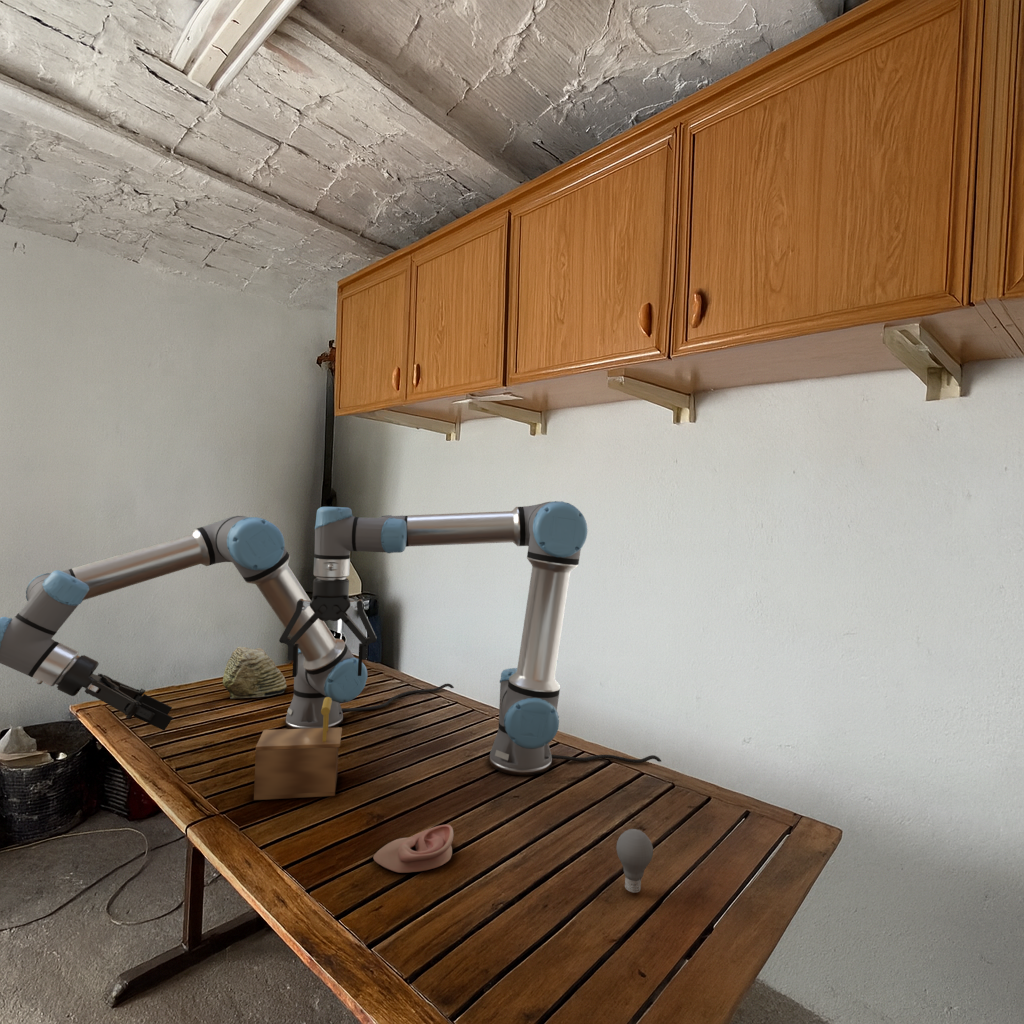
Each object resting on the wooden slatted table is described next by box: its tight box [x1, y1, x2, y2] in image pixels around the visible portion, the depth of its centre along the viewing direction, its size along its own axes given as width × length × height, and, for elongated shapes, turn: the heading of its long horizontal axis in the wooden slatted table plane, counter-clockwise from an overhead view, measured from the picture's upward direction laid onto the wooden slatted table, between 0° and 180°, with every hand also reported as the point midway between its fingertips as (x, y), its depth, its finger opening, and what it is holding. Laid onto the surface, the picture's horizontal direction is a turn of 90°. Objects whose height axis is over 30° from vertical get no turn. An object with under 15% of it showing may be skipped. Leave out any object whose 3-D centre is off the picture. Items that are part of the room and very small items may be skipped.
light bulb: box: [615, 828, 654, 894], centre depth 106 cm, size 6×6×10 cm
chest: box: [253, 747, 339, 801], centre depth 137 cm, size 16×10×10 cm, turn 102°
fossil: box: [222, 646, 288, 699], centre depth 198 cm, size 9×18×15 cm, turn 132°
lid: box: [255, 697, 343, 751], centre depth 137 cm, size 17×10×8 cm, turn 102°
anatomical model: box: [372, 824, 455, 874], centre depth 113 cm, size 13×4×12 cm
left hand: (168, 718), depth 133 cm, fingers open, 13 cm apart
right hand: (327, 674), depth 138 cm, fingers open, 13 cm apart
